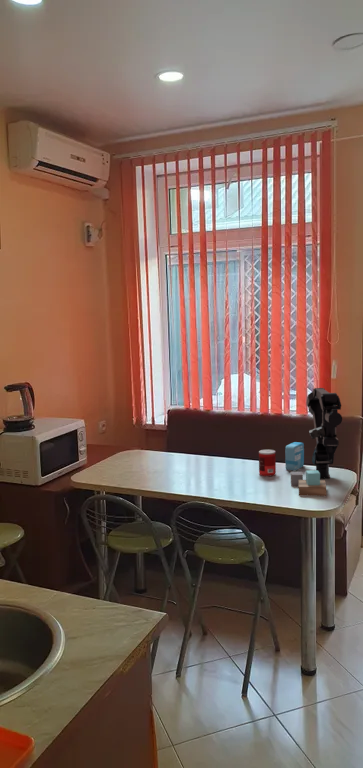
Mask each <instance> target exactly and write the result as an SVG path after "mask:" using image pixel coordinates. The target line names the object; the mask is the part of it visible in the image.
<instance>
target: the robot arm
mask: <svg viewBox="0 0 363 768" xmlns="http://www.w3.org/2000/svg"><path fill="white" fill-rule="evenodd" d="M305 401H306V402H305V403H306V407H307V409H308V412H309V413H310V414H311V415H312V420H313V426H314V428H313V429H309V431H308V432H309V436H310V438H311V439H312V440H313V439H314V440H316V445H315V447H314V449H313V453H312V457H311V462H312V464H313V465H314V466H315V470H318V471H319V473H320V479H331V476H330V465H334V459H335V453H336V451H337V448H338V447H339V444H340V443H339V438H337V427H338V426H339V425H340V424H341V423H342V422H343V416H342V414H341V413H339V412H338V410H340V411H341V409H342V402H341V399H340V397H339V395H338V394H337V392H329V391H328V390H326V389H325V388H324V387H315V388H313V389H312V391H311V392H310V393H308V394H307V397H306V400H305Z"/></svg>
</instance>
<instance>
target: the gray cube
mask: <svg viewBox="0 0 363 768" xmlns="http://www.w3.org/2000/svg"><path fill="white" fill-rule="evenodd" d="M303 477H304V474H303V471H290V486H291V487H292V486H293V487H299V480H304V478H303Z"/></svg>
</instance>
